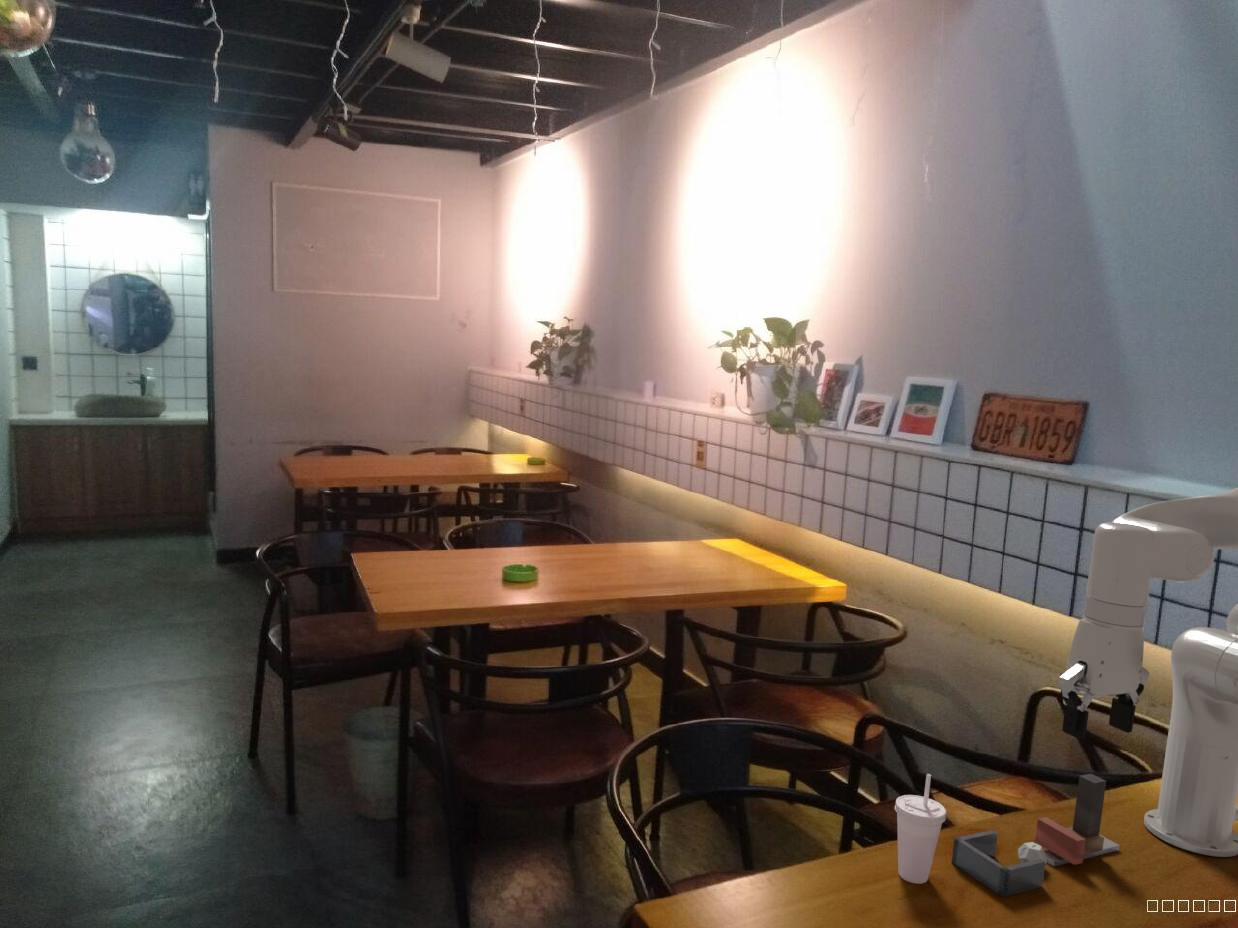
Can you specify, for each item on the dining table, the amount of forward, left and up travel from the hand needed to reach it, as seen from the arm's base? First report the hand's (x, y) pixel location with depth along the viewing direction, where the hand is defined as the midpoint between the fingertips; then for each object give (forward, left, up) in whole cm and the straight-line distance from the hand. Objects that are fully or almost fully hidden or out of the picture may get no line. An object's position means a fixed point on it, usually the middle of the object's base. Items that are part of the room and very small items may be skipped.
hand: (1097, 732), depth 128 cm
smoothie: (+28, -3, -18) cm, 34 cm away
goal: (+16, 0, -18) cm, 24 cm away
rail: (0, 0, -18) cm, 18 cm away
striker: (+2, 0, -17) cm, 17 cm away
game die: (+10, 0, -18) cm, 21 cm away
